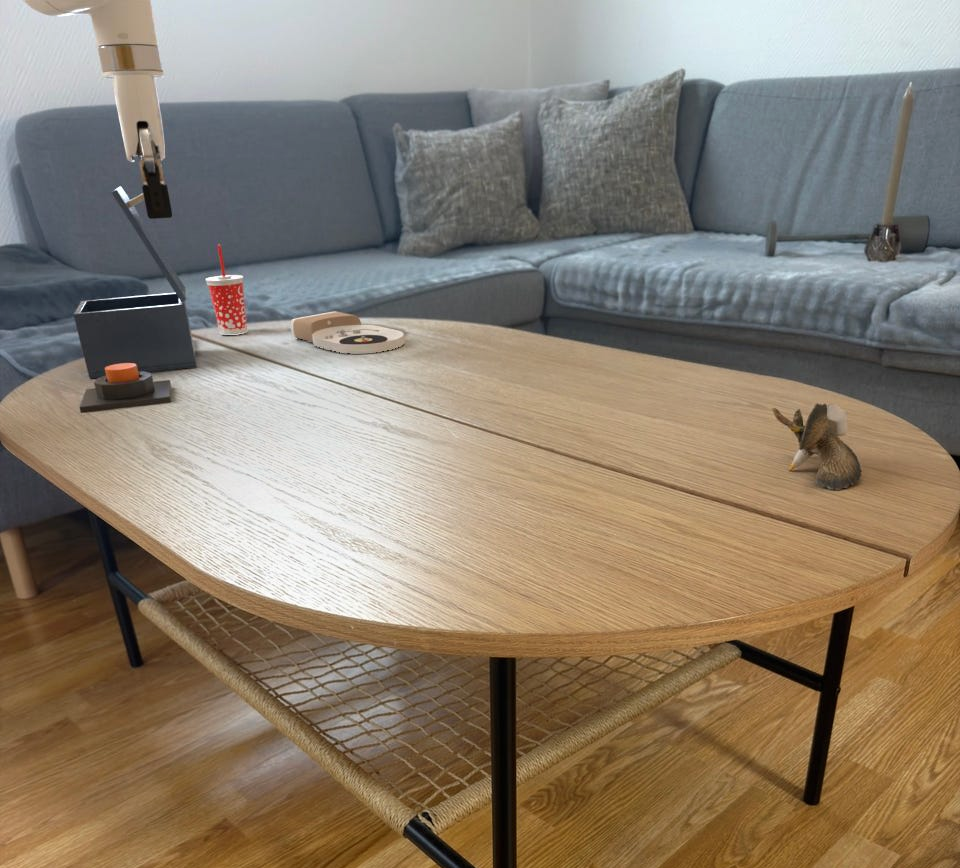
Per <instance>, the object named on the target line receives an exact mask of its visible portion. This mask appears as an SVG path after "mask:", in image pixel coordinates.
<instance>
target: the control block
mask: <svg viewBox="0 0 960 868" xmlns="http://www.w3.org/2000/svg"><path fill="white" fill-rule="evenodd" d="M138 374H139V378H138V379H135V380H131V381H125V382H108V380H107V376H106V375H105V376H102V377H100V378H94V382H93V384H94V387H93V388H86V389H85V391H84V394H83V397H82V399H81V402H80V405H79V410H80V413H81V414H83V413H93V412H99V411H100V412H101V411H108V410H110V411H111V410H119V409H126V408H135V407H144V406H152V405H159V404H169V403H172V385H171V380H170V379H166V380H155V381H154V377H153V372H150V373H148V372H140V371H138Z"/></svg>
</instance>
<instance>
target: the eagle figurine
mask: <svg viewBox="0 0 960 868" xmlns="http://www.w3.org/2000/svg"><path fill="white" fill-rule="evenodd" d="M771 410H772V413H773V414H774V417H775V418H776V420H777V421H778V422H780V423H781V424H782V425H784V426H786V427H787V428H788V429H790V431H791V432H792V433H793V434H794V436H795V437H796V439H797V443H798V445H799V447H798V450H797V452H796V454H795V455H794V457H793V459H792V462H791V465H790V467H789V468H788V469H787V470H788V471H790V472H791V471H793V470H794V469H795V468H800V467H801V466H802V465H803V464H804V463H805V462H806V461H807V459H809V458H810V457H812V456H813V455H817V456H818V457H819V468H818V470H817V473H816V476H815V479H814V483H815V485H820V486H821V487H822V488H827V489H828V490H831V491H834V490H836V491H841V490H842V489H848V488H849V487H850V486H855V483H856V484H857V483H859V481H860V479H861V476H862V469H861V465H860V462H859V459H858V457H857V455H856V453H855V452H854V451H853V449H852V448H851V447H849V445H848V444H846V443H845V442H844V441H843V440H842V439H841V438H840V437H843V436H846V435H847V433H848V430H849V429H848V417H847V414H846V411H845V410H844V409H843V408H842V407H841V406H839V405H837V404H835V403H829V404H828V405H827V404H826V403H823V404H821V403H818V402H816V403H815V404H814V406H813V408H812V410H811V411H810V413H809V415H808V417H807V419H806V421H805V424H804V417H803V415H802V411H801V409H800V408H797V410H796V411H795V412H794V414H793V417H792V420H790V419H788V418H787V417H785V415H783V414H782V413H781V412H780V411H779V409H778V408H776V407H772V408H771Z"/></svg>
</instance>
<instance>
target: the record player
mask: <svg viewBox="0 0 960 868" xmlns="http://www.w3.org/2000/svg"><path fill="white" fill-rule="evenodd" d="M290 332H291V336H292V337H293V338H294V337H295V338H294V339H296V338H299V339H298V340H300V339H303V340H302V341H304V340H307V341H306V342H308V341H311V342H313V343H312V344H313V346H314V347H316V346H317V347H316V348H319V347H320V349H323V348H324V349H323V350H327V351H330V350H332V351H331V352H334V351H336V352H335V353H339V352H340V354H347V353H350V354H349V355H359V354H360V355H362V354H377V353H383V352H382V351H384V352H388V351H387V350H389V351H392V349H393V350H396V349H399V348H401V347H403V346H404V345H405V333H404V332H403V331H401V330H398V329H393V328H390V327H384V326H380V325H379V326H378V325H374V324H373V325H372V324H362V322H361V319H360V317H358V316H357V315H356V314H350V313H346V312H340V311H337V310H335V311H328V312H322V313H317V314H312V315H307V316H301V317H296V318H293V319H291V320H290ZM311 342H310V343H311ZM403 344H404V345H403ZM402 345H403V346H402ZM398 347H399V348H398ZM395 348H396V349H395ZM376 352H377V353H376Z"/></svg>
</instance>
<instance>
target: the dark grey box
mask: <svg viewBox="0 0 960 868" xmlns="http://www.w3.org/2000/svg"><path fill="white" fill-rule="evenodd" d="M72 315H73V318H74V319H73V320H74V322H75V323H74V324H75V327H76V330H77V334H78V339H79V343H80V347H81V351H82V355H83V358H84V363H85V366H86V370H87V373H88V378H89V380H95V379H97V378H100V377H102V376H105V375H106V372H105V367H107V366H110V365H114V364H121V363H134V364H136V365H137V369H138V371H140V372H148V373H157V372H158V373H159V372H168V370H169V371H176V370H175V369H178V370H183V369H182V368H187V369H192V368H191V367H196V368H198V365H196V364H197V357H195V356H196V350H195V349H196V348H195V344H194V339H193V334H192V328H191V324H190V318H189V312H188V308H187V303H186V300H185V301H183V302H181V301H180V299H179V298H178V296H177V294H176V293H175V292H170V293H169V292H168V293H158V294H146V295H134V296H122V297H112V298H111V297H110V298H99V299H89V300H88V299H87V300H81V301H80V302H79V305H78V306H77V308H76V310H75V311H74V312H73V314H72Z"/></svg>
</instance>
